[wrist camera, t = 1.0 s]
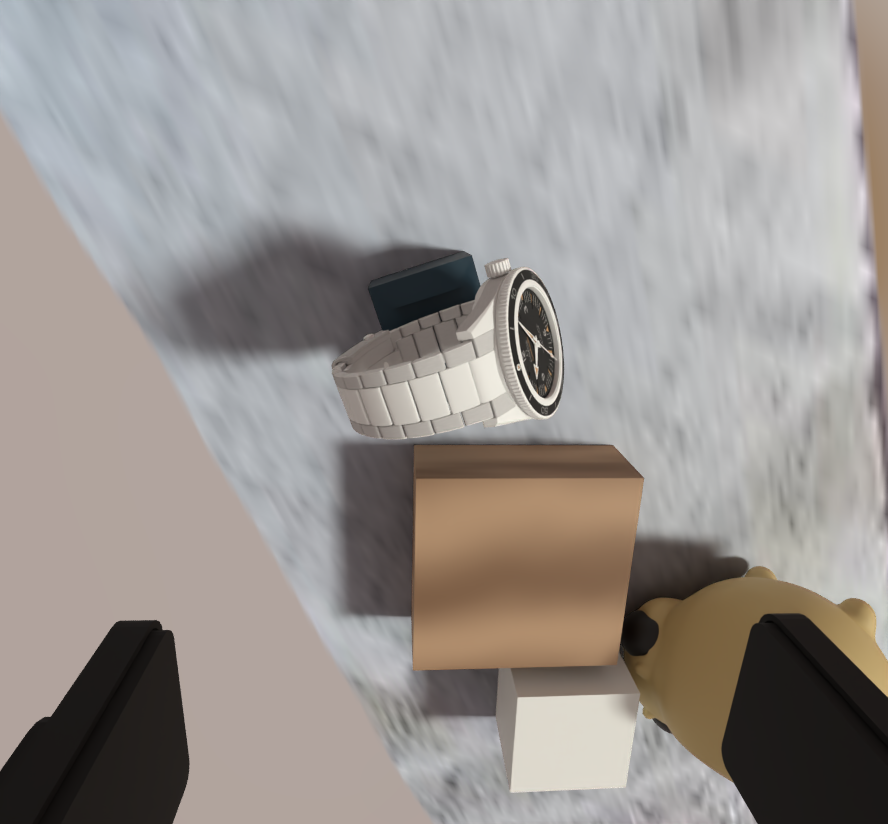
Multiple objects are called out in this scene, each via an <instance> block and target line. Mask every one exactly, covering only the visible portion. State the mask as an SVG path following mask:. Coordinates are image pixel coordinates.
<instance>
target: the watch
mask: <svg viewBox="0 0 888 824" xmlns="http://www.w3.org/2000/svg"><path fill="white" fill-rule="evenodd" d="M485 269H486V273H487V277H491V278H489V279H488V280H487V281H485V282H484V283H483V284H482V285H481V286H480V283H479V279H478V276H477V272H476V269H475V265H474V261H473V258H472V255H470V254H468V253H466V252H464V251H463V252H460V253H456V254H453V255H450V256H447V257H444V258H441V259H438V260H435V261H431V262H428V263H425V264H422V265H419V266H416V267H413V268H410V269H407V270H403V271H400V272H397V273H394V274H391V275H388V276H385V277H382V278H378V279H375V280H372V281H371V283H370V285H369V288H368V290H369V293H370V295H371V298H372V301H373V304H374V307H375V310H376V313H377V316H378V319H379V322H380V325H381V328H382V330H383V331H382V330H381V331H379V332H377V333H376V334H368V335H366V336H365V337H364V338H363V339H364V340H363V341H361V342H360V343H358V344H357V345H355V346H353V347H352V348H350V349H349V350H347V351H346V352H345V353H343V354H342V355H341V356H339V357H338V358H337V359H336V360H335V361H333V363H332V369H333V371H332V375H333V377H334V380H335V383H336V385H337V388H338V391H339V393H340V396H341V399H342V401H343V404H344V406H345V409H346V412H347V414H348V417H349V419H350V422H351V425H352V427H353V429H354V430H355V431H356V432H358V433H359V434H361V435H365V436H368V437H372V438H383V439H406V438H416V437H424V436H430V435H434V433H436V434H438V433H443V432H448V431H452V430H456V429H460V428H463V427H464V423H465V425H466V426H468V425H472V424H475V423H479V422H483V425H484V427H495V426H500V425H505V424H509V423H514V422H518V421H522V420H527V419H536V420H542V419H548V418H550V417H551V416H552V415H554V413H555V412H556V410H557V408H558V405H559V403H560V399H561V395H562V389H563V380H564V357H563V346H562V339H561V333H560V328H559V323H558V319H557V315H556V312H555V309H554V306H553V303H552V300H551V298H550V296H549V293H548V291H547V289H546V287H545V285H544V284H543V282H542V280H541V279H540V278H539V276H538V275H537V274H536V273H535V272H534V271H533V270H532V269H530V268H527V267H520V268H516V269H513V270H512V271H511V267H510V263H509V259H508V258H504V259H498V260H495V261H492V262H490V263H488V264H486V265H485ZM508 272H509V273H508ZM448 404H449V405H448ZM449 407H450V409H449ZM450 410H451V412H450ZM460 412H461V414H462V417H463V420H464V423H463V420H462V417H461V414H460Z"/></svg>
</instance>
